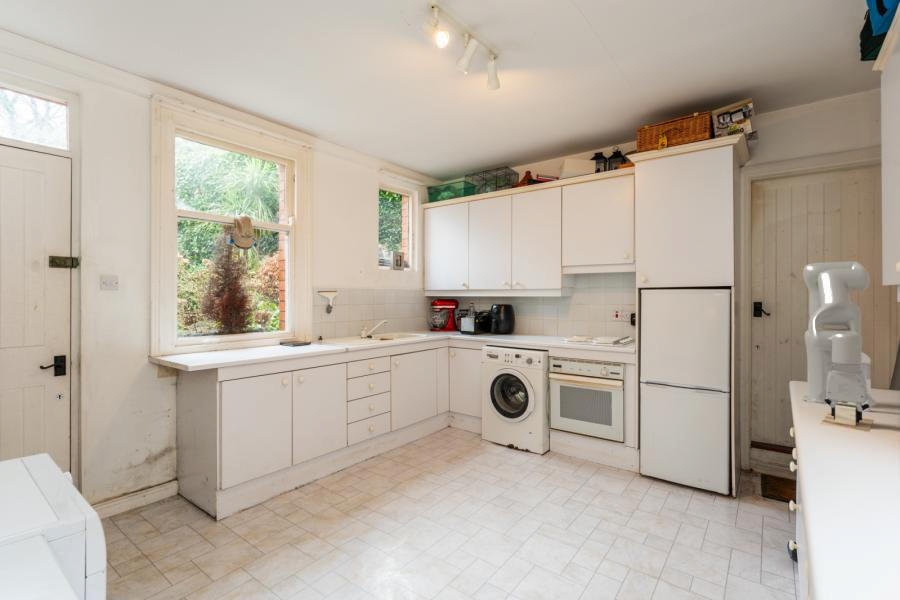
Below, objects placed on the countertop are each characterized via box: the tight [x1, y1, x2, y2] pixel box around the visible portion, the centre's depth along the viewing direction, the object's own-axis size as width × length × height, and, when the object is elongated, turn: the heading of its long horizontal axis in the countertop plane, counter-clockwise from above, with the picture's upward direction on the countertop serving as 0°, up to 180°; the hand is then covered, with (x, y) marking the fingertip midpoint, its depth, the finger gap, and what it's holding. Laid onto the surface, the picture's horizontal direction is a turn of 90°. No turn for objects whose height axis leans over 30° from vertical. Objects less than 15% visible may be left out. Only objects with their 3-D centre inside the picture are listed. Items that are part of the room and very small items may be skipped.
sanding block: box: [835, 402, 857, 427], centre depth 145 cm, size 8×5×6 cm, turn 132°
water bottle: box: [846, 351, 872, 412], centre depth 163 cm, size 7×7×25 cm
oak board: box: [820, 411, 875, 433], centre depth 147 cm, size 22×12×1 cm, turn 132°
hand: (846, 419), depth 145 cm, fingers closed on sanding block, 5 cm apart
